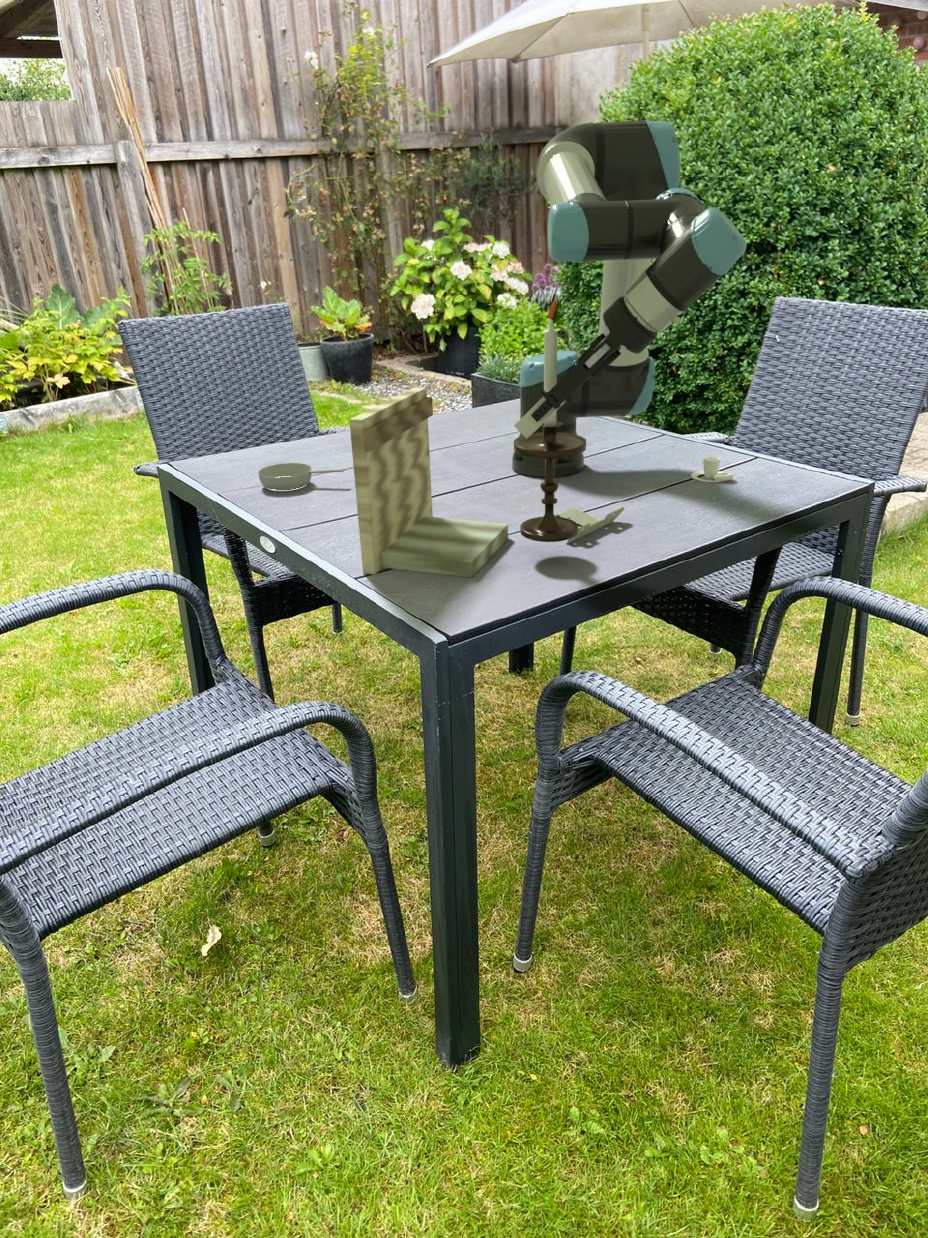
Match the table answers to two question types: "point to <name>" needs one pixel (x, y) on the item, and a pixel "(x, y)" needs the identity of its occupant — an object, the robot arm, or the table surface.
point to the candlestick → (549, 454)
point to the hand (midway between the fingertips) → (525, 427)
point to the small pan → (295, 470)
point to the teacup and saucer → (712, 471)
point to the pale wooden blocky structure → (409, 496)
